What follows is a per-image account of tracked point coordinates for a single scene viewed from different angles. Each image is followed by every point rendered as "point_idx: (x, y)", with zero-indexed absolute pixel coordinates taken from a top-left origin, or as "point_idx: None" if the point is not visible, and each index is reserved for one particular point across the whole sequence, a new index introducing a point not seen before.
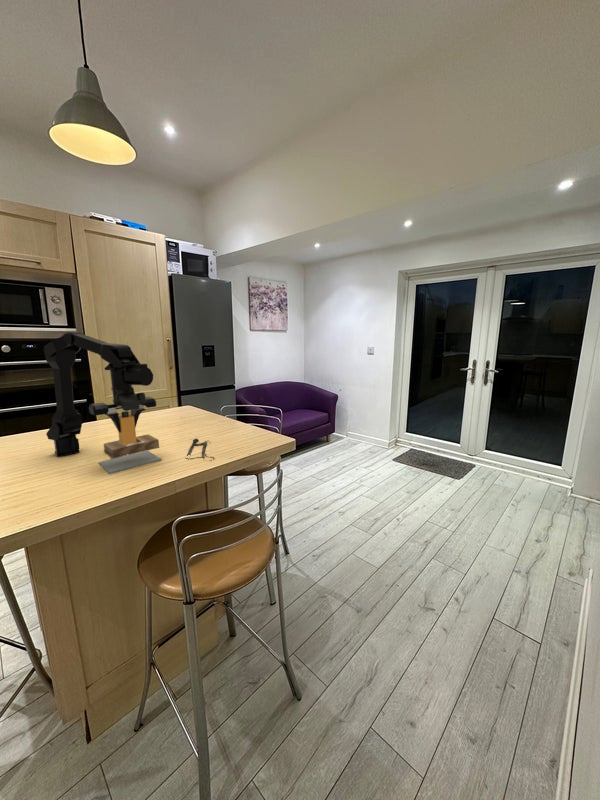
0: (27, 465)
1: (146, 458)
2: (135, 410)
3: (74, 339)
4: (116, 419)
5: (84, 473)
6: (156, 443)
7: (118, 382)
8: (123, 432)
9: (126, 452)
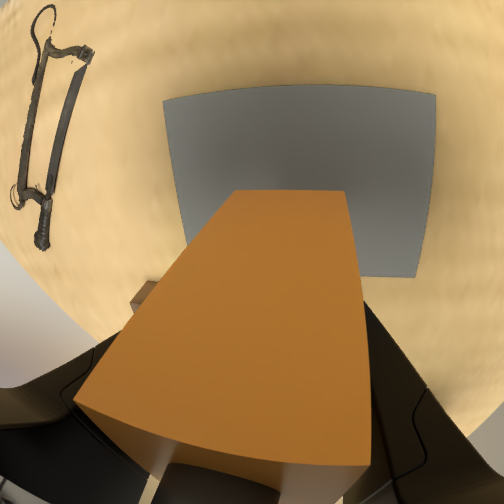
0: (497, 382)
1: (222, 155)
2: (1, 468)
3: None
4: (430, 456)
5: (491, 202)
6: (146, 293)
7: None
8: (340, 248)
9: None
